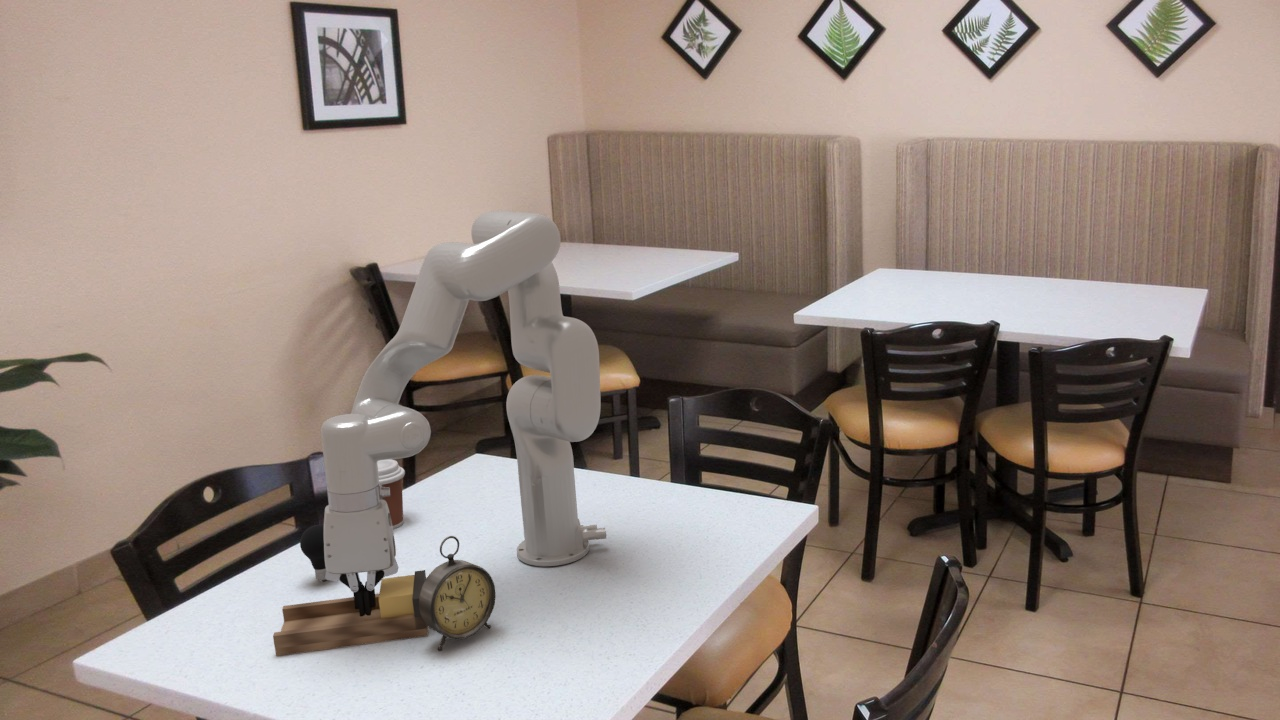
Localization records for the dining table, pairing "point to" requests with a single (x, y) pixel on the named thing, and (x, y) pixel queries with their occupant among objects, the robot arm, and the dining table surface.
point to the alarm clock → (457, 598)
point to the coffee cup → (392, 488)
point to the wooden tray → (345, 624)
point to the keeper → (396, 596)
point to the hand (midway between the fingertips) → (366, 612)
